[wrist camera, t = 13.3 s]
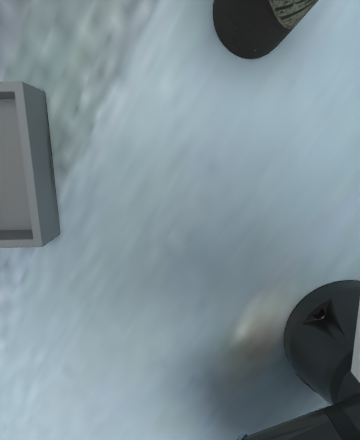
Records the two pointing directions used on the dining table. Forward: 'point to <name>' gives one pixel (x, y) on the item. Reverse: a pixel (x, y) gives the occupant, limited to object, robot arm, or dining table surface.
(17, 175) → the grey tray
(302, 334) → the robot arm
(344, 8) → the dining table surface
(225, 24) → the container
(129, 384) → the dining table surface
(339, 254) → the dining table surface
